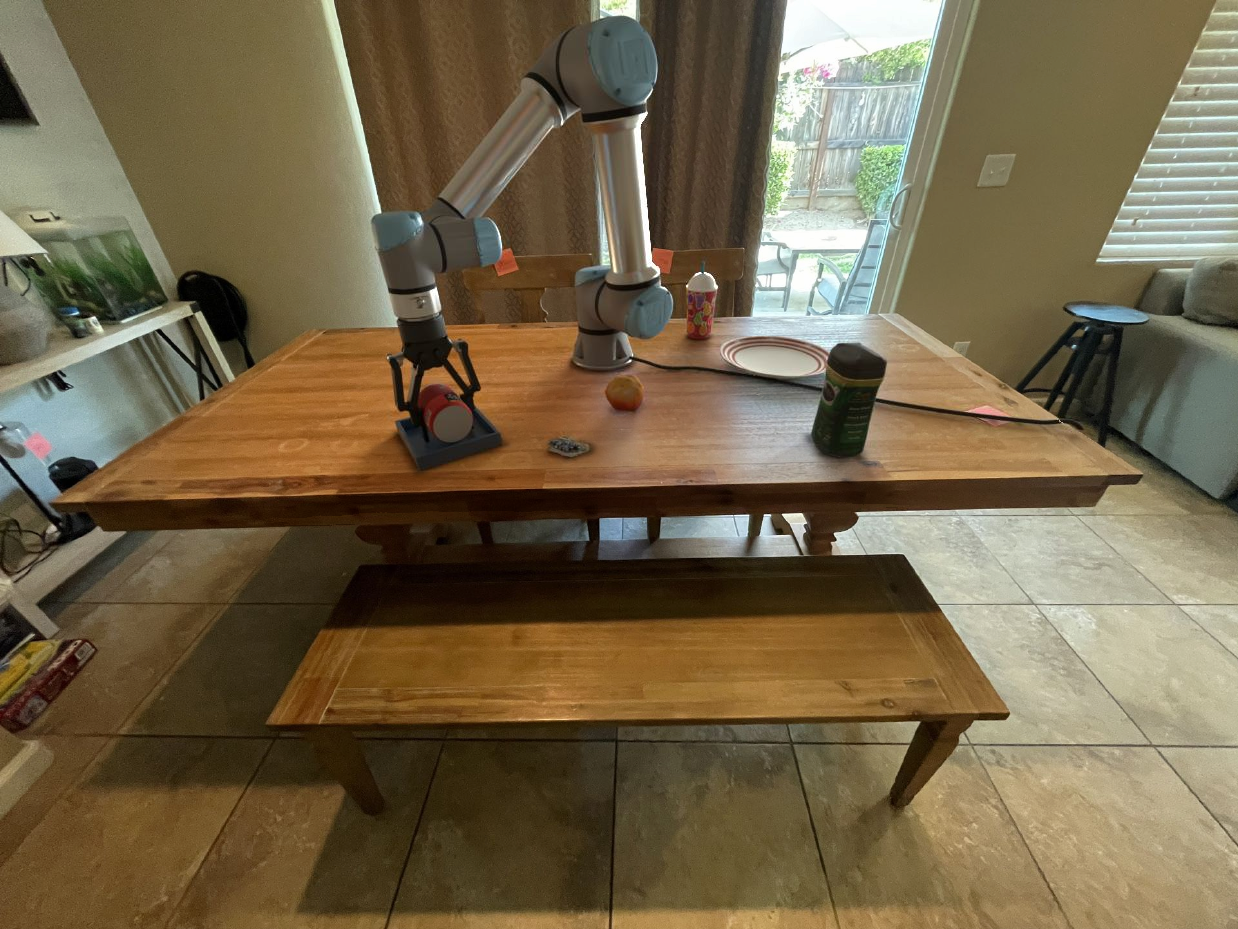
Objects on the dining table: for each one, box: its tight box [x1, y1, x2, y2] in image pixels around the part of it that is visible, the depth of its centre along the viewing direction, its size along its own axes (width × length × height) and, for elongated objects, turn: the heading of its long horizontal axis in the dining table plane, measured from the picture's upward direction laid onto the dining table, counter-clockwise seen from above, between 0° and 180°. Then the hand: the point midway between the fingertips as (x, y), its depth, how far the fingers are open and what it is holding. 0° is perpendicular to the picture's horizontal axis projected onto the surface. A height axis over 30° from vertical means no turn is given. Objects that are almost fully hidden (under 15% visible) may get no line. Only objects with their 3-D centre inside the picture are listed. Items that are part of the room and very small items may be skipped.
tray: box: [394, 404, 503, 472], centre depth 96 cm, size 16×15×3 cm
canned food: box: [417, 382, 473, 443], centre depth 94 cm, size 8×8×11 cm
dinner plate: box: [719, 335, 830, 380], centre depth 123 cm, size 27×27×3 cm
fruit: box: [604, 373, 645, 412], centre depth 105 cm, size 8×8×8 cm
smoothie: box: [685, 261, 718, 340], centre depth 138 cm, size 8×8×20 cm
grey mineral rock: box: [545, 435, 591, 458], centre depth 93 cm, size 7×8×2 cm
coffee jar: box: [810, 341, 888, 458], centre depth 87 cm, size 10×8×19 cm
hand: (448, 432), depth 97 cm, fingers closed on canned food, 8 cm apart
